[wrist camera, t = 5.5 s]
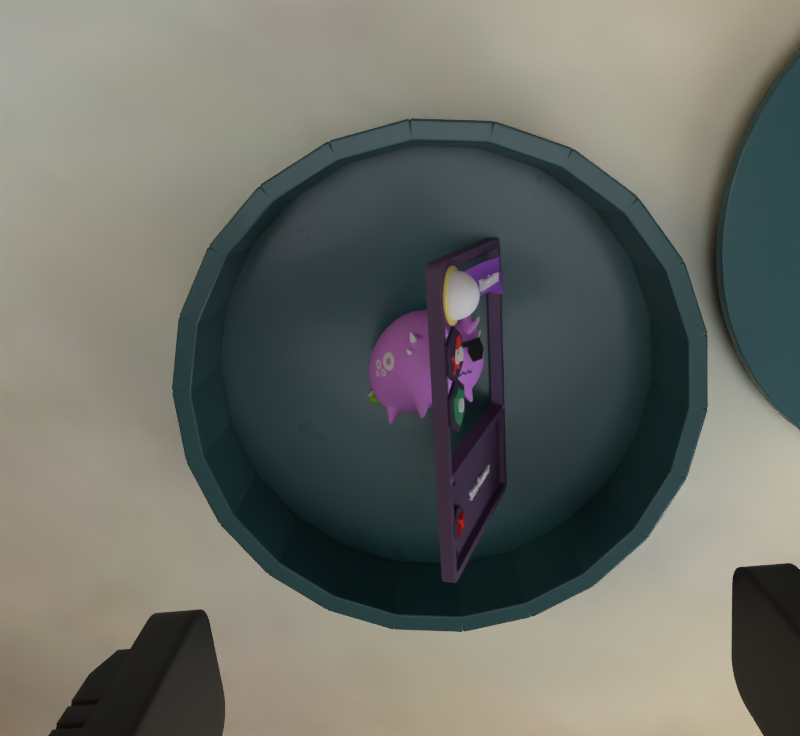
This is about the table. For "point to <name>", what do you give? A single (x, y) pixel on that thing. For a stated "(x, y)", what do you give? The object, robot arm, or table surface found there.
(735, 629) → the robot arm
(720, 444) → the table surface
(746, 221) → the tin lid
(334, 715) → the table surface
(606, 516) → the tin
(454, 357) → the purple monster toy
